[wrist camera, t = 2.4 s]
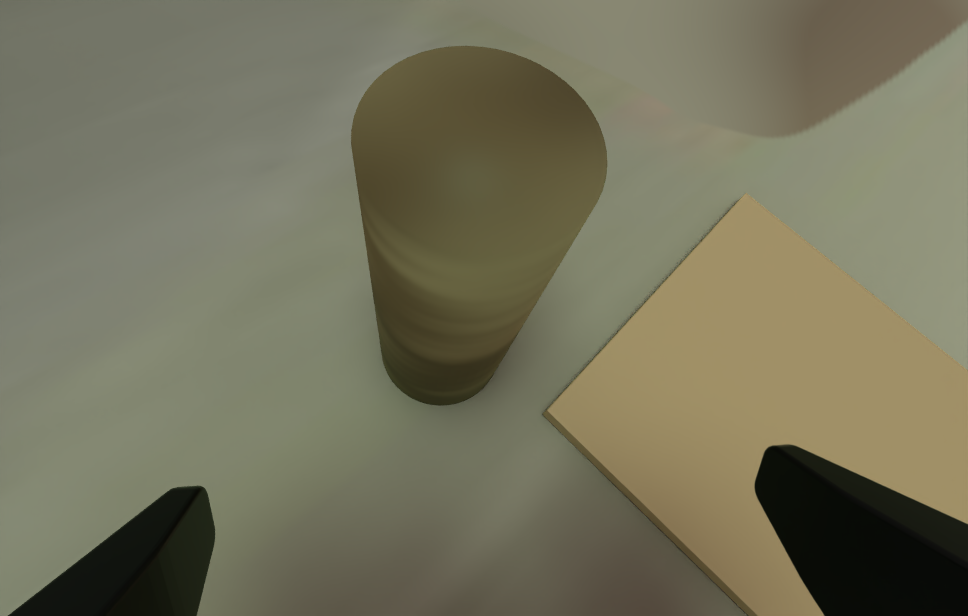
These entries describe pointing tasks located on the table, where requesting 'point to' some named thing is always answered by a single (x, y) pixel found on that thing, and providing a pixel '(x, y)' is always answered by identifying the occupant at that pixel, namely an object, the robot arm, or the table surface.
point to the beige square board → (763, 400)
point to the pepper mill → (467, 207)
